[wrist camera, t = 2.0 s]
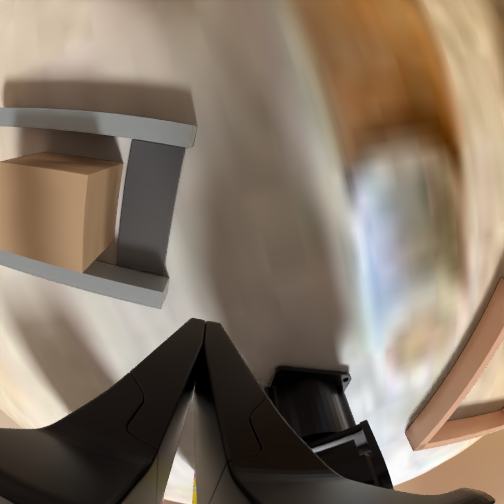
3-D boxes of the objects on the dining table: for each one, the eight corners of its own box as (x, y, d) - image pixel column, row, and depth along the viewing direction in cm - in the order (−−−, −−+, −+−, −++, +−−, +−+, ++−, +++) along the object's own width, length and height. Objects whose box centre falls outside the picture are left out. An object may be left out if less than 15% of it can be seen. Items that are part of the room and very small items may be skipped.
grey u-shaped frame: (197, 126, 17) (192, 125, 15) (167, 293, 20) (160, 309, 18) (9, 107, 15) (-8, 107, 13) (3, 250, 19) (-12, 260, 17)
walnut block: (124, 163, 17) (88, 174, 13) (114, 239, 19) (82, 272, 14) (45, 151, 16) (-2, 162, 12) (41, 223, 18) (-1, 249, 14)
